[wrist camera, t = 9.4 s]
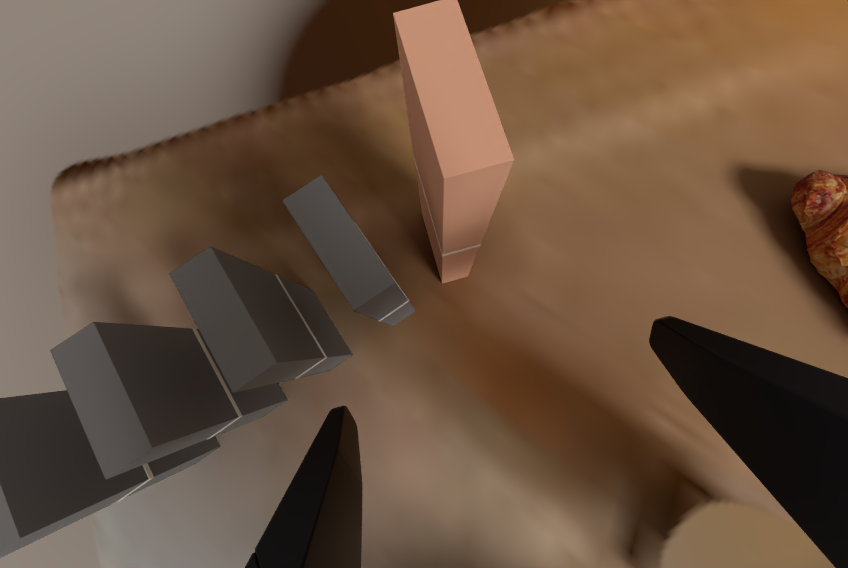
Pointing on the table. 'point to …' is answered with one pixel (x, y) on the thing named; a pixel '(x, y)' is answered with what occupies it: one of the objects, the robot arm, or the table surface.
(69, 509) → the domino
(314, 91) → the table surface
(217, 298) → the domino
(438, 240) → the domino
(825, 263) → the croissant
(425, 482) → the table surface
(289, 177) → the table surface
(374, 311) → the domino
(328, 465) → the robot arm
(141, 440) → the domino
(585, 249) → the table surface
